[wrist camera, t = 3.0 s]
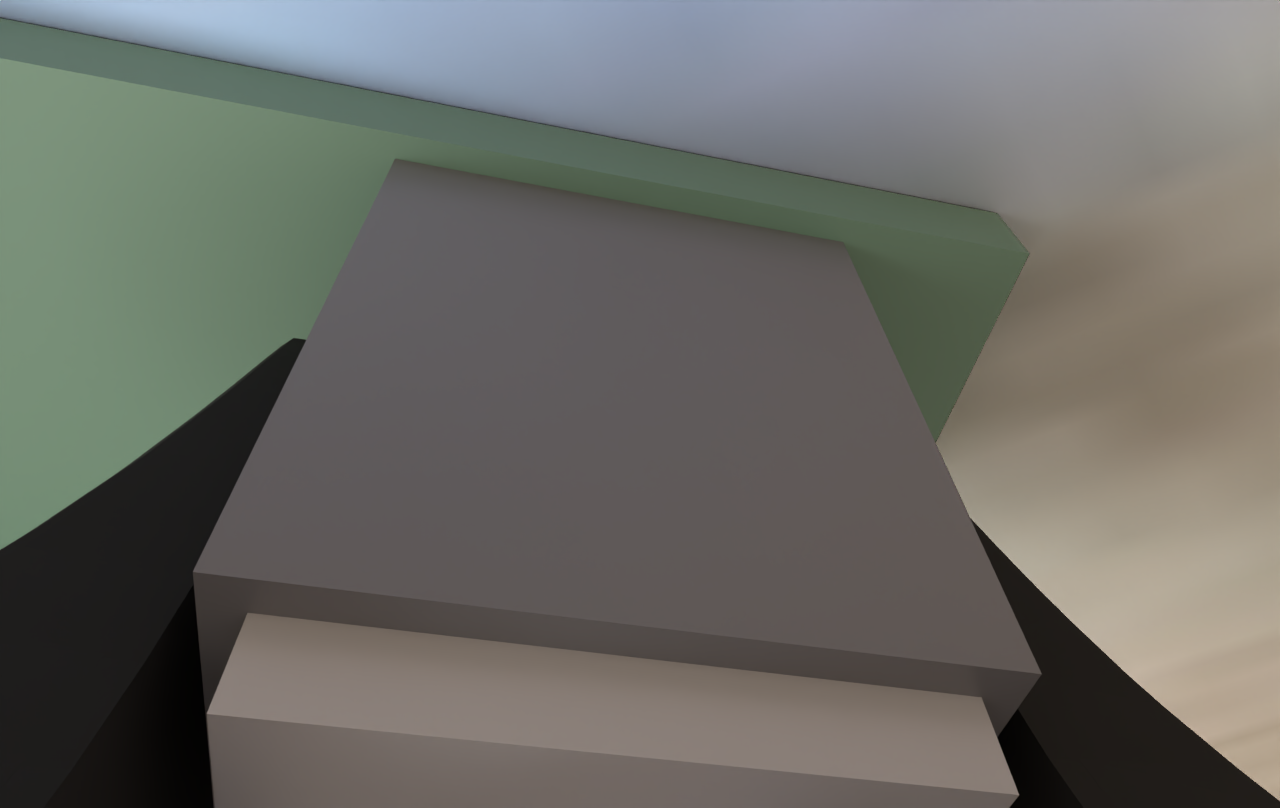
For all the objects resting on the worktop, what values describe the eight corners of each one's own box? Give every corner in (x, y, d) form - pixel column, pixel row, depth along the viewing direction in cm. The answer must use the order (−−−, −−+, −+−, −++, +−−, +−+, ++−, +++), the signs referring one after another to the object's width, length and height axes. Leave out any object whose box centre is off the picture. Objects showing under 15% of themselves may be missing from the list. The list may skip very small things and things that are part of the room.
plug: (843, 242, 10) (1087, 769, 5) (728, 554, 12) (809, 1107, 7) (394, 158, 9) (144, 673, 4) (373, 506, 12) (202, 1080, 7)
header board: (996, 213, 11) (1029, 254, 10) (662, 937, 20) (664, 988, 19) (-742, -128, 8) (-890, -111, 7) (-183, 876, 18) (-221, 932, 17)
